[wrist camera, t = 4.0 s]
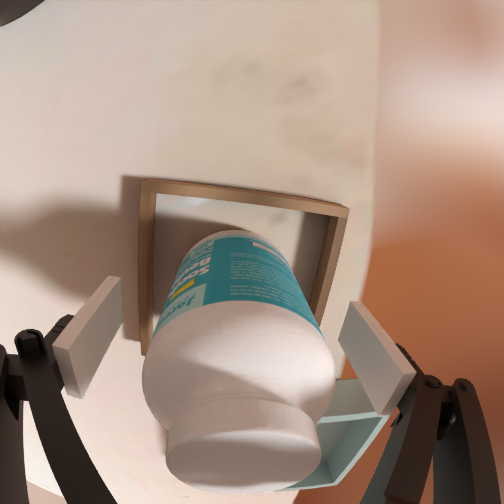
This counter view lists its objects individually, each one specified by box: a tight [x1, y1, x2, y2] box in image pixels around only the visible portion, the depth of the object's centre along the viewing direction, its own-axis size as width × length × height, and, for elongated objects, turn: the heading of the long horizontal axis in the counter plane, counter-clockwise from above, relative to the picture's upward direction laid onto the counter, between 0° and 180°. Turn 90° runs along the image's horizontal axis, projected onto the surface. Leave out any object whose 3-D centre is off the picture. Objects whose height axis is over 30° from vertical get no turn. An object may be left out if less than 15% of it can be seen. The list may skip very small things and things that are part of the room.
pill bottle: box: [142, 230, 336, 495], centre depth 13 cm, size 8×7×14 cm
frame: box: [138, 179, 349, 356], centre depth 19 cm, size 12×12×2 cm
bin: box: [272, 379, 390, 492], centre depth 23 cm, size 15×15×4 cm
